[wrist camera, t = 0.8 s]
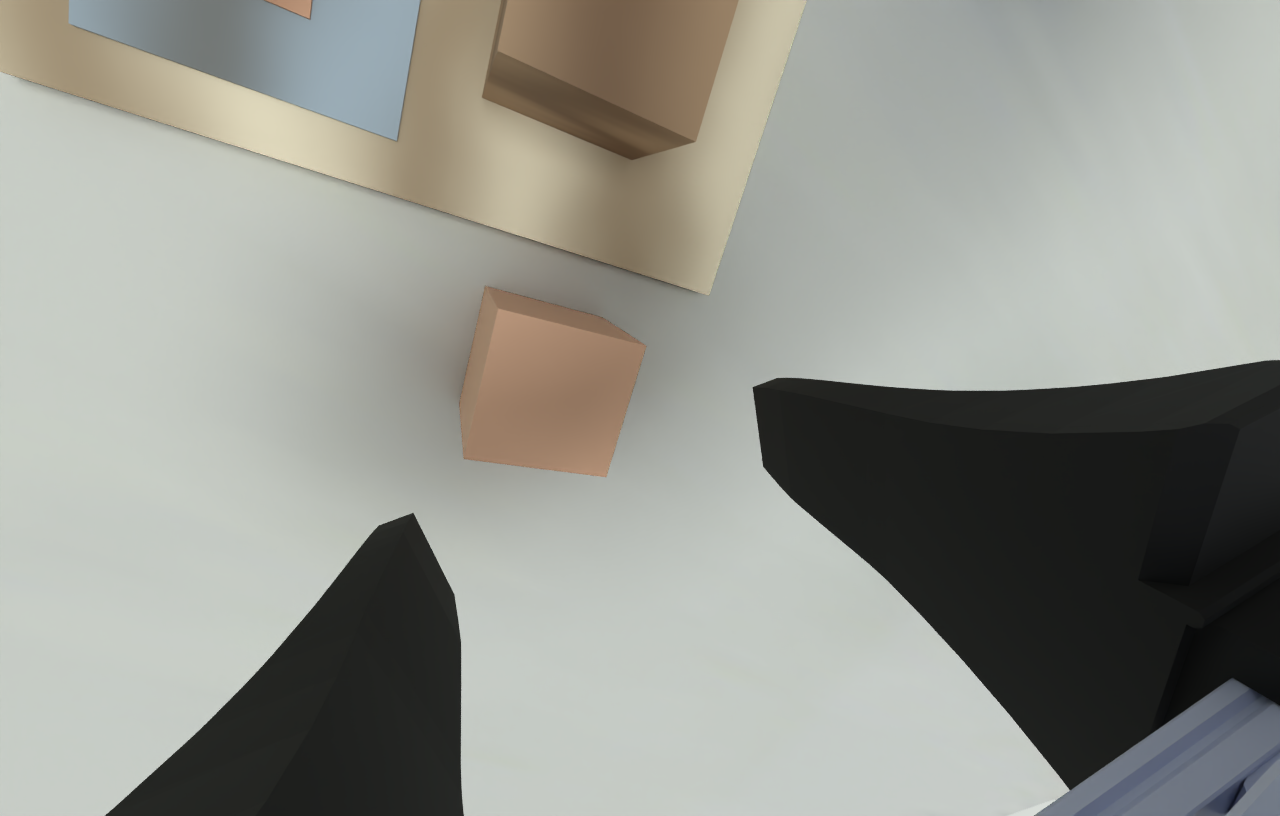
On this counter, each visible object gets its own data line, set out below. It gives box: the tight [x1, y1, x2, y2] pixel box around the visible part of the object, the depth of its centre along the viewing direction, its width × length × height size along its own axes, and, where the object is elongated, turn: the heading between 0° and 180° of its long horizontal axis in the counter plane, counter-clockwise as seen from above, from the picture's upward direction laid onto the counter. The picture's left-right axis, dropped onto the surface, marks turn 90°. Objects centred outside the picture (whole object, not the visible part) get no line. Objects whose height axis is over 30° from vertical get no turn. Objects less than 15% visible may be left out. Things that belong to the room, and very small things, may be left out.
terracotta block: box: [459, 286, 646, 477], centre depth 17 cm, size 4×4×5 cm
